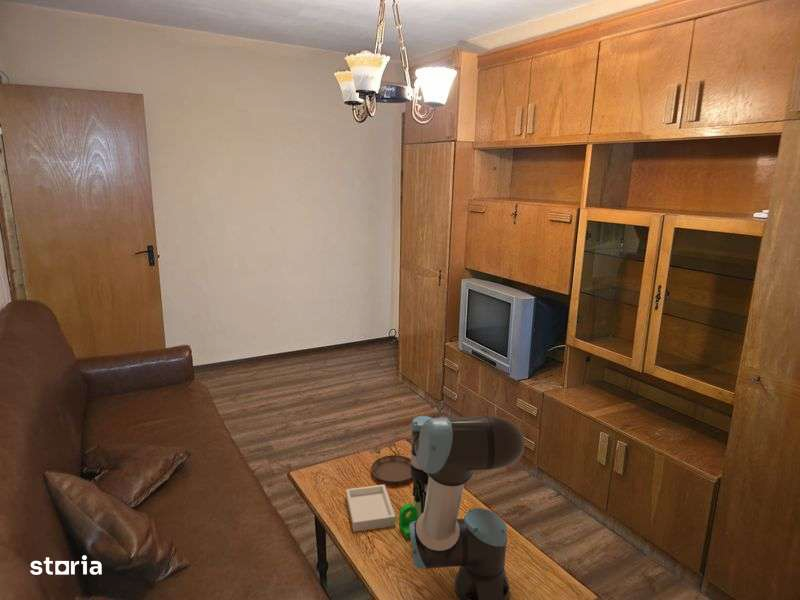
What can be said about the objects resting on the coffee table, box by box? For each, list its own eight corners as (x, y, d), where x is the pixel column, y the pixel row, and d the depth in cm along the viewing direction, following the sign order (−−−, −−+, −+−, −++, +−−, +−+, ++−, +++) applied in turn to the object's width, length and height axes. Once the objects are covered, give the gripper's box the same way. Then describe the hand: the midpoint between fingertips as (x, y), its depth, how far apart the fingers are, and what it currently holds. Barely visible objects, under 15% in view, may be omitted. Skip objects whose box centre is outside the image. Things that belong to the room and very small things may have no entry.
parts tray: (395, 525, 171) (395, 516, 170) (353, 531, 168) (353, 522, 167) (384, 492, 188) (384, 484, 187) (346, 497, 184) (345, 489, 184)
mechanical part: (406, 538, 164) (406, 516, 162) (399, 526, 170) (399, 505, 168) (440, 529, 168) (440, 508, 166) (432, 518, 174) (432, 497, 172)
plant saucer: (364, 482, 194) (364, 475, 193) (379, 458, 210) (379, 451, 209) (409, 491, 189) (409, 484, 188) (421, 465, 205) (422, 459, 204)
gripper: (443, 479, 155) (441, 545, 161) (425, 446, 173) (424, 506, 179) (419, 483, 153) (417, 548, 159) (404, 449, 172) (403, 509, 177)
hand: (421, 526), depth 169 cm, fingers closed on mechanical part, 6 cm apart
